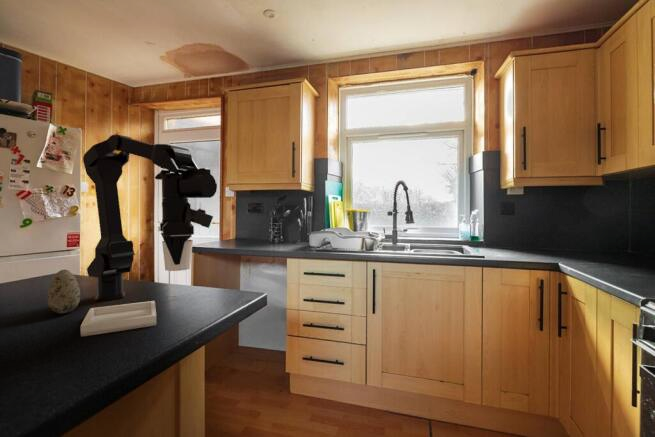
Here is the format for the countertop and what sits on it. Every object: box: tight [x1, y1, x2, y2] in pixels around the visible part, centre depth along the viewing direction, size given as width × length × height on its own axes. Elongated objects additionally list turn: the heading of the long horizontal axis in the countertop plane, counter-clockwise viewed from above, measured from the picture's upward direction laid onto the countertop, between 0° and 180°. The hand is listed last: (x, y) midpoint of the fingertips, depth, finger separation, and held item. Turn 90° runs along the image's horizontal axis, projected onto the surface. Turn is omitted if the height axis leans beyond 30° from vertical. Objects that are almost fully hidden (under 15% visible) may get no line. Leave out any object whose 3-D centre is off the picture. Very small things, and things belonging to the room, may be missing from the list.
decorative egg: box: [46, 269, 81, 314], centre depth 76 cm, size 6×6×10 cm
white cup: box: [161, 239, 194, 272], centre depth 81 cm, size 7×7×7 cm
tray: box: [80, 300, 157, 337], centre depth 71 cm, size 13×13×2 cm
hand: (176, 262), depth 81 cm, fingers closed on white cup, 6 cm apart
